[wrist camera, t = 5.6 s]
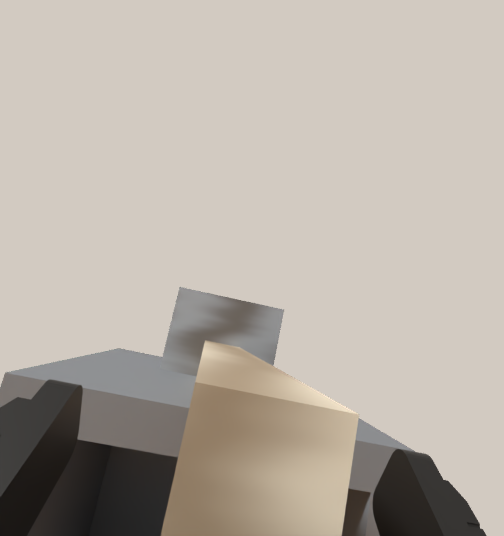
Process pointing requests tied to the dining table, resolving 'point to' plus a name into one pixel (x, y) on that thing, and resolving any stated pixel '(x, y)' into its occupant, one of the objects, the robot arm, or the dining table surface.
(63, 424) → the robot arm
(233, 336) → the tan and grey block
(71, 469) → the tall grey box
